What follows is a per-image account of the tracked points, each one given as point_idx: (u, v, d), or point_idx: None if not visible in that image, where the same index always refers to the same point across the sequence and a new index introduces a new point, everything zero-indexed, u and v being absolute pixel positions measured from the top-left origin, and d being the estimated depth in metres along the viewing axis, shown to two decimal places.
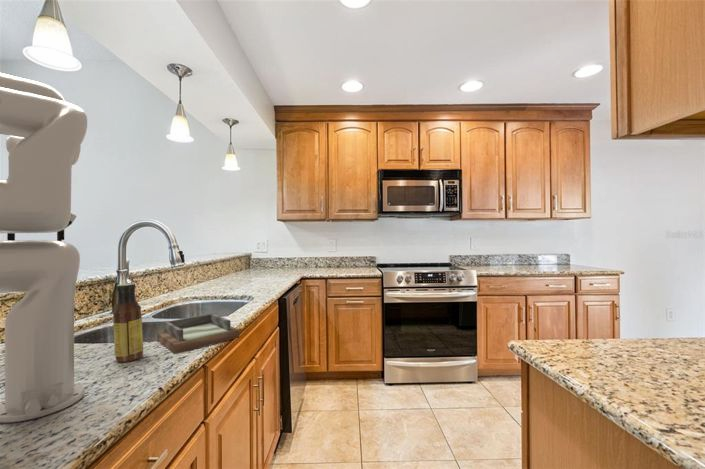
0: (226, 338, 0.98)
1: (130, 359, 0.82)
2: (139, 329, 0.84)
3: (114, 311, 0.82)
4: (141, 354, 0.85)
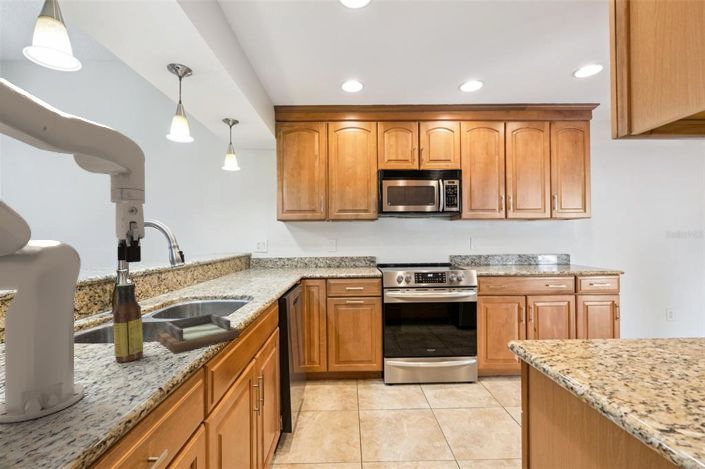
0: (226, 338, 0.98)
1: (130, 359, 0.82)
2: (138, 329, 0.84)
3: (114, 311, 0.82)
4: (141, 354, 0.85)
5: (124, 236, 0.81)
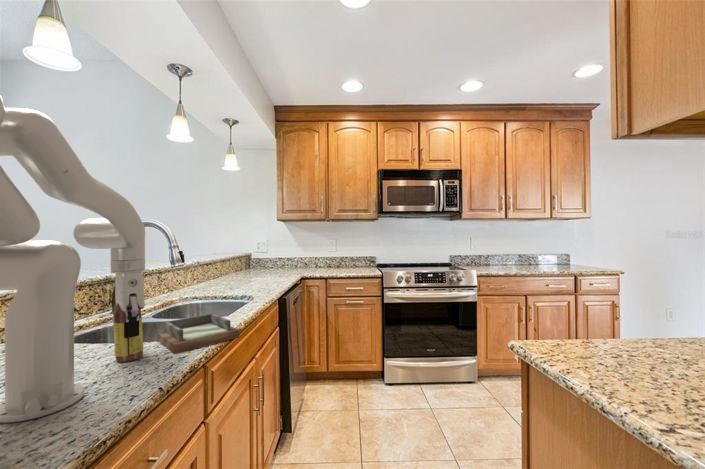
0: (226, 338, 0.98)
1: (130, 359, 0.82)
2: (139, 329, 0.84)
3: (114, 311, 0.82)
4: (141, 354, 0.85)
5: (124, 309, 0.80)
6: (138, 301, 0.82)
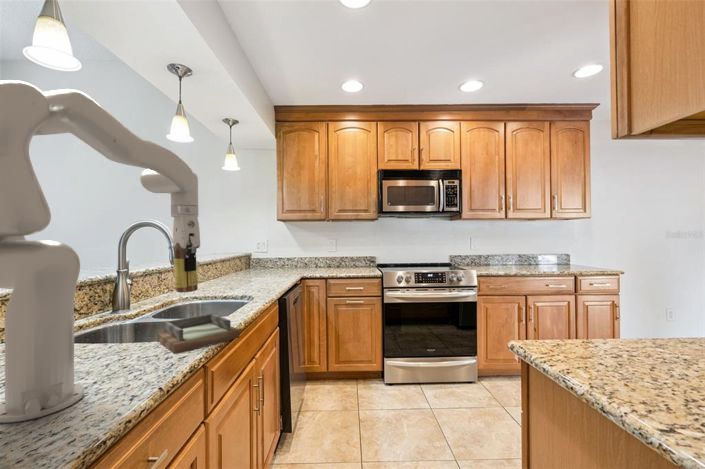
0: (226, 338, 0.98)
1: (188, 290, 0.96)
2: None
3: (175, 249, 0.96)
4: (196, 287, 0.99)
5: (184, 246, 0.94)
6: (195, 240, 0.95)
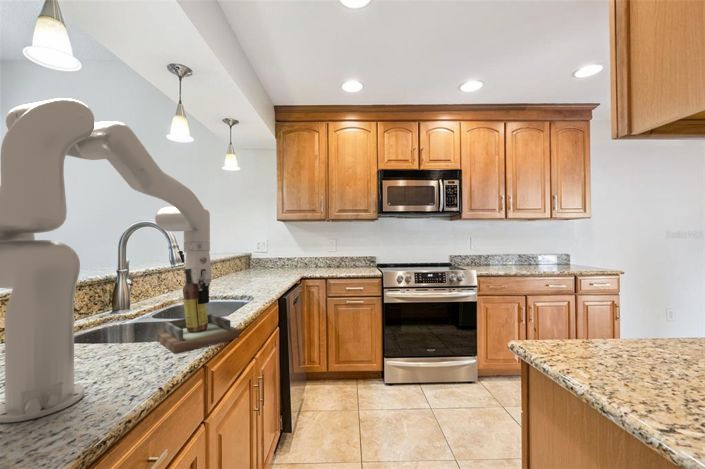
0: (226, 338, 0.98)
1: (199, 329, 0.98)
2: (204, 305, 1.00)
3: (184, 290, 0.98)
4: (207, 326, 1.01)
5: (196, 282, 0.97)
6: (207, 273, 0.98)
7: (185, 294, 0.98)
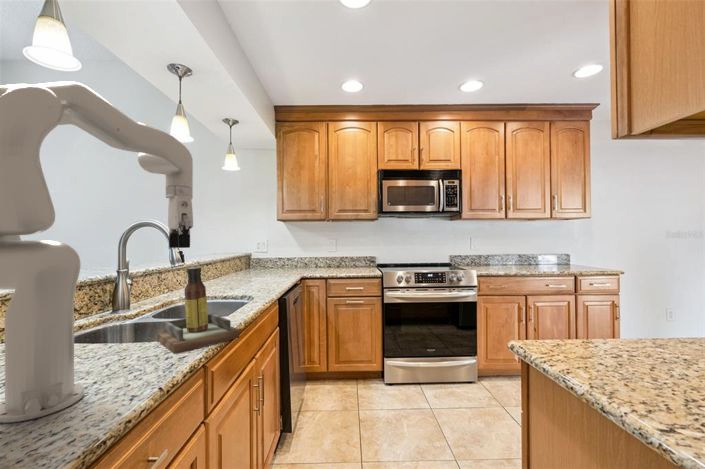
0: (226, 338, 0.98)
1: (199, 330, 0.98)
2: (205, 305, 1.00)
3: (186, 290, 0.98)
4: (207, 326, 1.01)
5: (177, 225, 0.96)
6: (188, 217, 0.98)
7: (187, 294, 0.98)
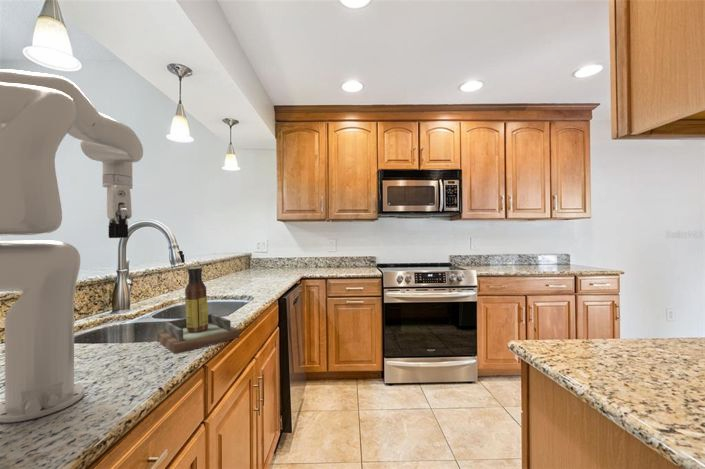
0: (226, 338, 0.98)
1: (199, 330, 0.98)
2: (205, 305, 1.00)
3: (186, 290, 0.98)
4: (207, 326, 1.01)
5: (113, 215, 0.94)
6: (126, 207, 0.96)
7: (187, 294, 0.98)
